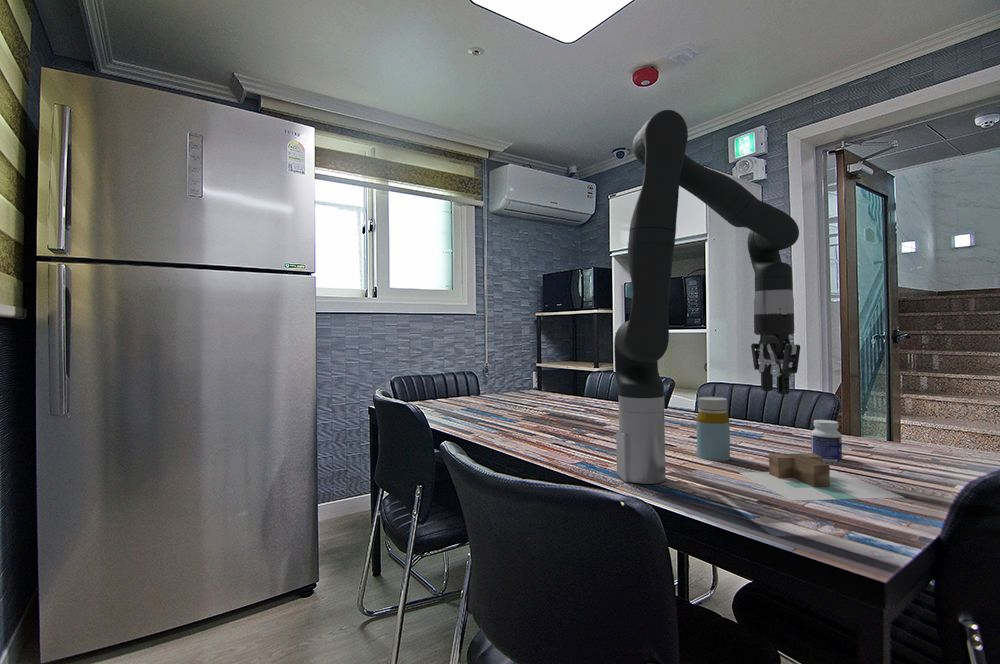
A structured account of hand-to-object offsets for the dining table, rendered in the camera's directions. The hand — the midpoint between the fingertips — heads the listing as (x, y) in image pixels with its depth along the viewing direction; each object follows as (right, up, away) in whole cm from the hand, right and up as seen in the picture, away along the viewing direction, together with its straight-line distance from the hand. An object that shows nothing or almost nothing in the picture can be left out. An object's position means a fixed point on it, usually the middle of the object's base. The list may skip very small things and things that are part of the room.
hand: (774, 391), depth 105 cm
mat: (+1, -17, -12) cm, 21 cm away
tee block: (+1, -16, -10) cm, 19 cm away
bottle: (-9, -18, +9) cm, 22 cm away
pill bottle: (+15, -18, +6) cm, 24 cm away
